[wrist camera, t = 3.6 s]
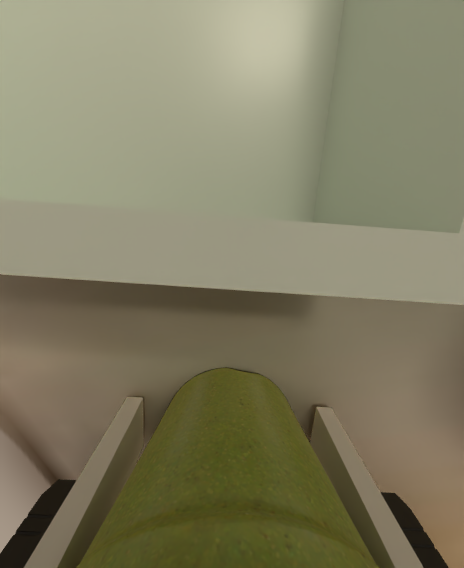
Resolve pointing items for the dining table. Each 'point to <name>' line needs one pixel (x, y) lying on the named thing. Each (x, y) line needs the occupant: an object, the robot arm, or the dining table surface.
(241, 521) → the plant pot
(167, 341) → the dining table surface
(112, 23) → the box
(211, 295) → the dining table surface
